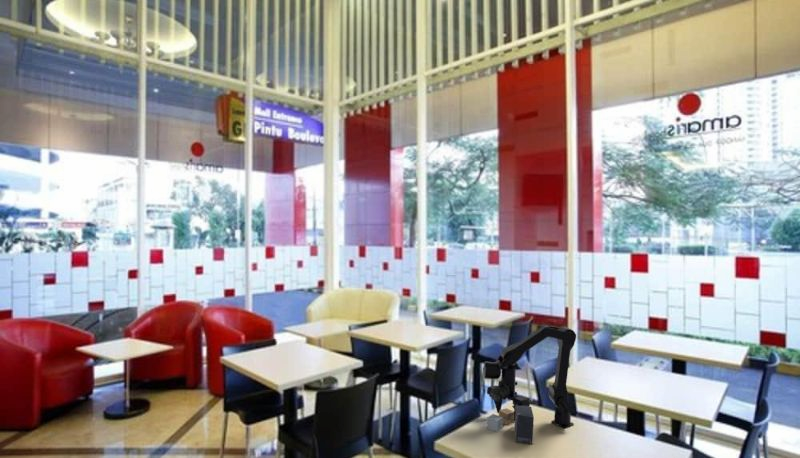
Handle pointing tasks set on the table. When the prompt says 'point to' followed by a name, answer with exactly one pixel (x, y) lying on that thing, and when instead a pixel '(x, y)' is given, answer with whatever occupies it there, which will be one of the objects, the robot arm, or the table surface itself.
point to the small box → (523, 424)
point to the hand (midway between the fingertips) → (507, 417)
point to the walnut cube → (507, 416)
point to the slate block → (495, 423)
